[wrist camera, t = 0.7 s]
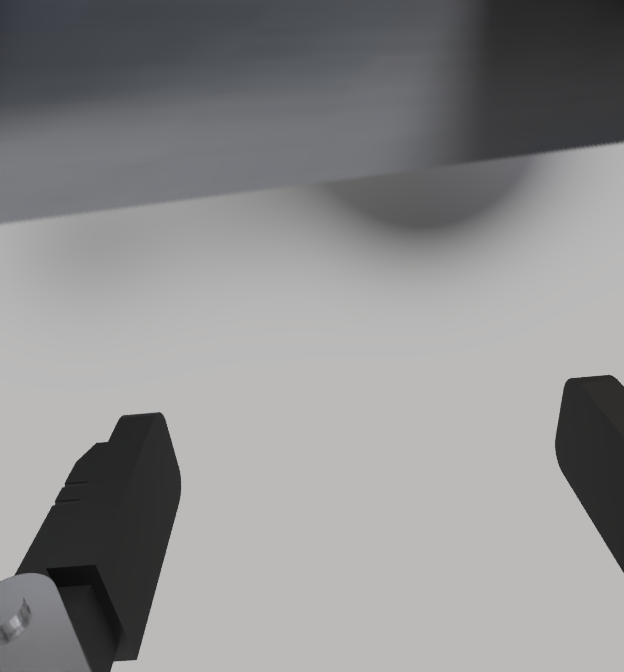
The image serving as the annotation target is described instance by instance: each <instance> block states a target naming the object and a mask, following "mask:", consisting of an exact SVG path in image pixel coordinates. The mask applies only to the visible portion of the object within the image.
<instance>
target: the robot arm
mask: <svg viewBox="0 0 624 672" xmlns="http://www.w3.org/2000/svg"><path fill="white" fill-rule="evenodd" d="M555 448H556V449H555V450H556V456H557V460H558V463H559V466H560V468H561V471H562V472H563V474H564V476H565V477H566V479H567V481H568V482H569V484H570V486H571V487H572V489H573V491H574V492H575V494H576V495H577V497H578V499H579V500H580V502H581V504H582V505H583V507H584V509H585V510H586V512H587V513H588V515H589V517H590V518H591V520H592V522H593V523H594V525H595V527H596V528H597V530H598V532H599V533H600V534H601V536H602V538H603V540H604V541H605V543H606V545H607V546H608V548H609V549H610V551H611V553H612V554H613V556H614V558H615V559H616V561H617V563H618V564H619V566H620V567H621V569H622V571H623V572H624V386H623V385H622V384H621V383H620V382H619V381H618V380H617V379H616V378H615V377H613V376H611V375H604V376H592V377H581V378H570V379H568V380H567V382H566V383H565V386H564V391H563V396H562V402H561V408H560V414H559V420H558V427H557V433H556V440H555ZM180 495H181V476H180V470H179V466H178V463H177V459H176V456H175V452H174V448H173V445H172V441H171V438H170V434H169V431H168V427H167V424H166V420H165V418H164V416H163V414H162V413H160V412H158V413H146V414H135V415H123V416H122V417H121V418H120V419H119V421H118V422H117V425H116V427H115V429H114V431H113V433H112V435H111V437H110V439H109V441H108V442H103V443H96V444H95V445H94V446H93V447H92V448H91V449H90V450H89V451H87V453H85V454H84V455H83V456H82V457H81V458H80V459H79V460H78V461H77V462H76V463H75V465H74V467H73V469H72V471H71V473H70V474H69V476H68V478H67V480H66V482H65V487H63V488H62V489H61V491H60V493H59V495H58V496H57V498H56V501H55V505H54V506H52V507H51V509H50V511H49V513H48V515H47V517H46V519H45V520H44V522H43V524H42V526H41V528H40V530H39V531H38V533H37V535H36V537H35V539H34V541H33V543H32V544H31V546H30V548H29V550H28V552H27V553H26V555H25V557H24V559H23V561H22V563H21V565H20V567H19V568H18V570H17V572H16V574H15V575H14V576H12V577H10V578H7V579H4V580H2V581H0V672H110V671H111V667H112V664H113V661H127V660H137V657H138V653H139V649H140V646H141V642H142V638H143V635H144V631H145V627H146V624H147V620H148V616H149V612H150V609H151V605H152V601H153V597H154V594H155V590H156V586H157V583H158V579H159V575H160V572H161V568H162V564H163V560H164V557H165V553H166V549H167V545H168V542H169V538H170V535H171V531H172V527H173V523H174V520H175V516H176V512H177V509H178V505H179V501H180Z"/></svg>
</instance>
